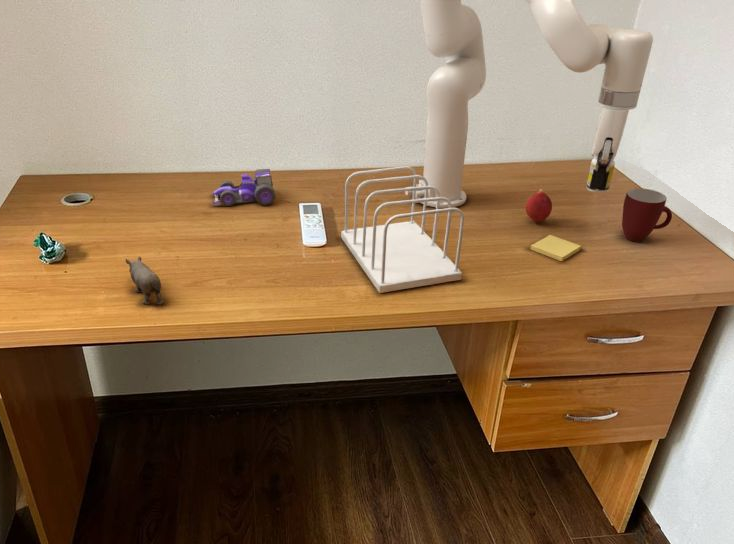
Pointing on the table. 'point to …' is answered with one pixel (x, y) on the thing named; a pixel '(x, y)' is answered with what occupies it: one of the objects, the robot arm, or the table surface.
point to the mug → (643, 213)
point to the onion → (539, 206)
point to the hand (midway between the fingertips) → (598, 183)
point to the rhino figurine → (145, 280)
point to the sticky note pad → (555, 247)
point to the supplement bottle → (592, 167)
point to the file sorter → (401, 240)
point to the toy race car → (247, 190)
